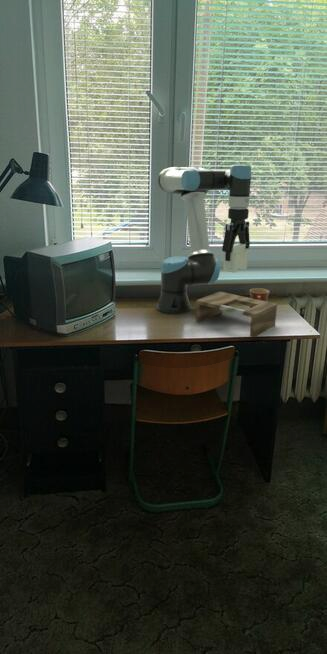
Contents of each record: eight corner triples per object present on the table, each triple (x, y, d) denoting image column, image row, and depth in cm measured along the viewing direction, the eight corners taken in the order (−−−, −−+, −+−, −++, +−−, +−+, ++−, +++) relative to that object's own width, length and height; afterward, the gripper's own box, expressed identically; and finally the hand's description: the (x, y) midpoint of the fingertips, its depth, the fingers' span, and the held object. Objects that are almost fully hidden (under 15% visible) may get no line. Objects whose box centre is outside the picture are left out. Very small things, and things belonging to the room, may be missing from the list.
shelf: (195, 321, 207) (196, 300, 204) (218, 311, 220) (219, 291, 217) (253, 337, 191) (255, 314, 188) (275, 325, 204) (277, 303, 201)
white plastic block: (223, 270, 188) (224, 245, 185) (235, 266, 195) (237, 242, 192) (234, 272, 185) (235, 247, 182) (246, 268, 192) (248, 244, 189)
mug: (248, 309, 225) (250, 287, 221) (267, 310, 223) (269, 288, 219) (247, 317, 214) (249, 294, 210) (267, 318, 212) (269, 296, 208)
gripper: (232, 211, 172) (228, 273, 179) (261, 206, 188) (257, 263, 196) (214, 209, 176) (211, 270, 184) (244, 205, 193) (241, 261, 200)
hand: (235, 267), depth 190 cm, fingers closed on white plastic block, 9 cm apart
